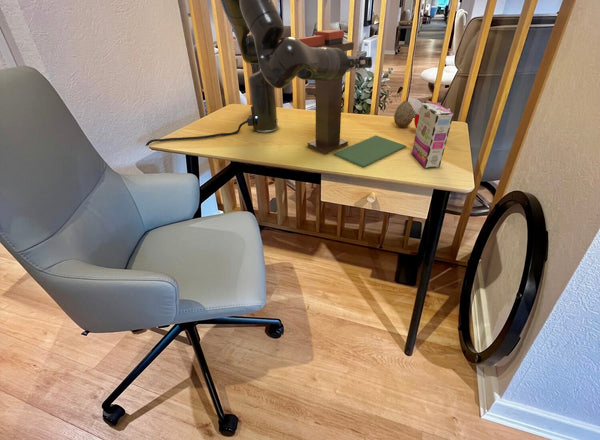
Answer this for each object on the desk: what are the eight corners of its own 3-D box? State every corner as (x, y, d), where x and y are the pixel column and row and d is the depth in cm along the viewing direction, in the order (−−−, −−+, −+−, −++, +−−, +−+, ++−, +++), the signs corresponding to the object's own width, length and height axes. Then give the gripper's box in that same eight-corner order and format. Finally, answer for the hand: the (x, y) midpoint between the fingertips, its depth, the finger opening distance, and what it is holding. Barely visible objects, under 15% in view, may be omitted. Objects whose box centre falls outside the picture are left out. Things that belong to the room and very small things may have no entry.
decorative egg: (389, 127, 121) (393, 101, 115) (397, 122, 126) (401, 97, 120) (407, 131, 118) (412, 104, 112) (414, 125, 122) (419, 99, 116)
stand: (325, 154, 104) (326, 46, 85) (307, 146, 109) (305, 43, 90) (347, 145, 109) (353, 41, 90) (329, 138, 115) (332, 39, 96)
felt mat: (363, 167, 95) (363, 165, 95) (333, 154, 104) (333, 153, 103) (405, 147, 106) (406, 145, 106) (375, 136, 115) (375, 135, 114)
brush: (299, 50, 82) (298, 36, 80) (286, 48, 85) (285, 35, 83) (343, 42, 90) (344, 30, 88) (330, 41, 94) (330, 29, 92)
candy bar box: (440, 167, 93) (455, 113, 84) (424, 169, 93) (437, 114, 83) (425, 152, 102) (436, 101, 93) (410, 153, 102) (420, 102, 92)
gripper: (351, 43, 72) (381, 46, 84) (303, 50, 80) (336, 52, 92) (351, 78, 75) (380, 77, 87) (304, 82, 83) (336, 80, 95)
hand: (357, 64), depth 89 cm, fingers open, 7 cm apart
